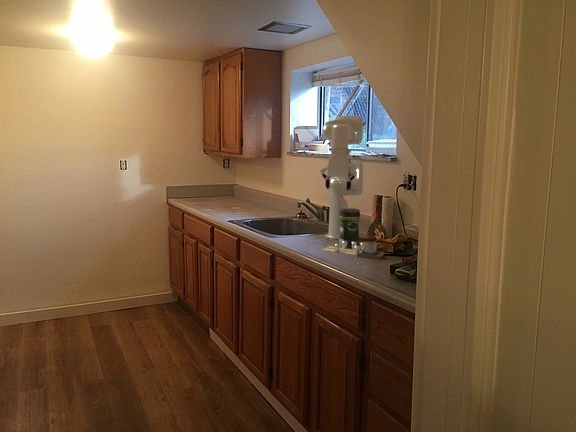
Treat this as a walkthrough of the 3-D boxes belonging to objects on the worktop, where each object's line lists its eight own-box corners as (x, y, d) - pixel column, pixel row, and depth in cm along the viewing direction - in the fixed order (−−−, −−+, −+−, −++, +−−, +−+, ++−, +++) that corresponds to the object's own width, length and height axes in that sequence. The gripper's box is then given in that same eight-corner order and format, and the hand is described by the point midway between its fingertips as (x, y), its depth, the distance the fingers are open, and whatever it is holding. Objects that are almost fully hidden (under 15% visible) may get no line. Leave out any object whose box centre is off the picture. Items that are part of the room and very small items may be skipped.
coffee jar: (354, 245, 253) (355, 207, 250) (361, 248, 245) (363, 209, 243) (335, 246, 250) (337, 207, 247) (342, 249, 242) (344, 209, 240)
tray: (362, 254, 232) (363, 250, 231) (383, 256, 228) (383, 252, 228) (357, 258, 223) (357, 253, 223) (378, 260, 220) (378, 256, 220)
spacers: (341, 247, 243) (342, 240, 243) (365, 250, 239) (365, 242, 238) (334, 251, 233) (334, 244, 232) (358, 254, 228) (359, 246, 228)
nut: (363, 255, 227) (363, 241, 227) (374, 255, 228) (375, 241, 227) (365, 257, 223) (366, 243, 222) (377, 257, 224) (378, 243, 223)
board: (328, 247, 246) (328, 246, 246) (366, 251, 239) (366, 250, 239) (320, 251, 235) (320, 250, 235) (359, 256, 228) (359, 254, 228)
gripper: (360, 152, 240) (358, 189, 243) (323, 150, 246) (322, 187, 249) (356, 153, 233) (354, 191, 236) (318, 151, 240) (317, 188, 242)
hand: (338, 189), depth 243 cm, fingers open, 9 cm apart
